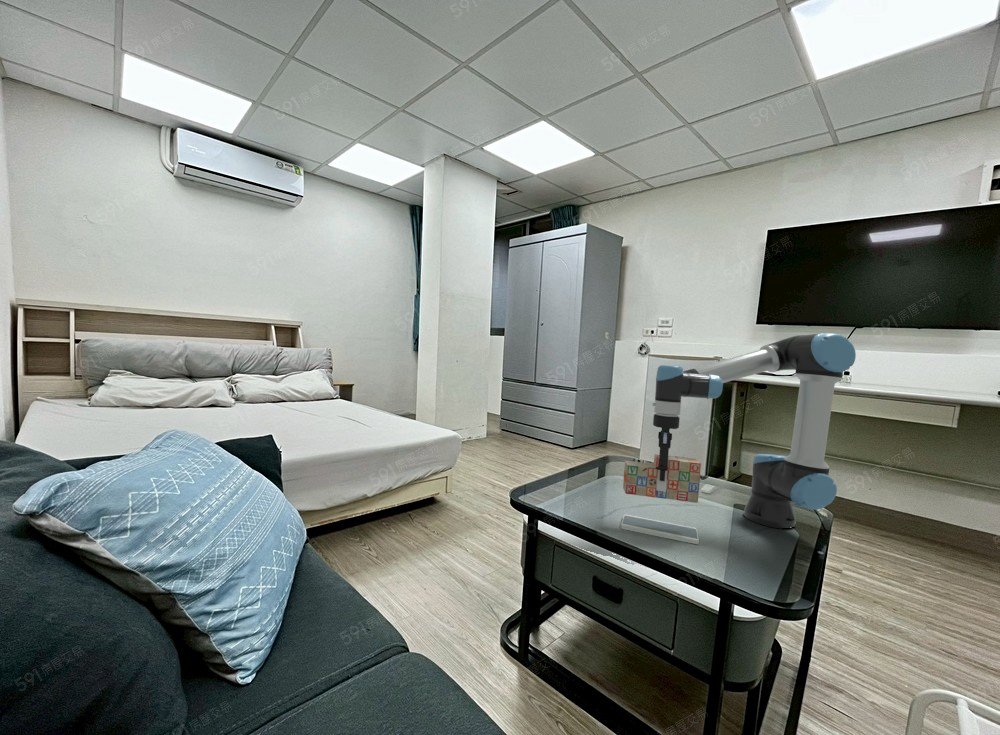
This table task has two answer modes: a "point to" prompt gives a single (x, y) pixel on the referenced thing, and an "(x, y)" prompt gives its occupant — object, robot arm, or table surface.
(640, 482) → the stack of blocks
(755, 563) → the table surface
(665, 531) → the board
